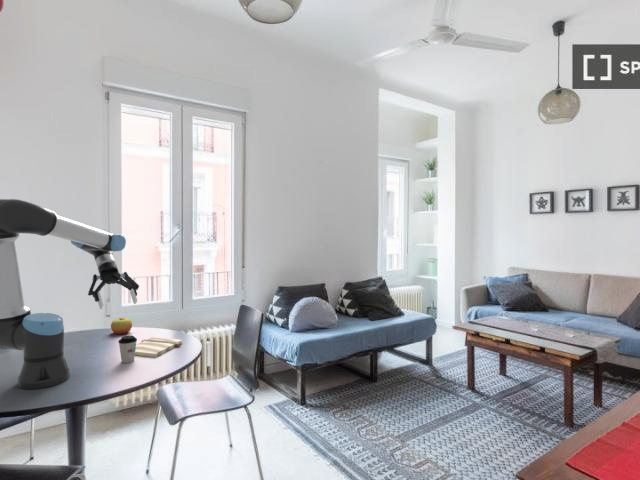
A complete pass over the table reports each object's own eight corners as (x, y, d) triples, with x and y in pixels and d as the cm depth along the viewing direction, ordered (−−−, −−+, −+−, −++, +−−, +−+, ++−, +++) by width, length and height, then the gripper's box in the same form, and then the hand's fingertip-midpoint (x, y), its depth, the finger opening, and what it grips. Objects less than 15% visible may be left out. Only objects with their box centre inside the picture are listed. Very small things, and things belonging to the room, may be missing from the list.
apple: (106, 334, 194) (106, 318, 194) (121, 329, 204) (121, 314, 203) (121, 336, 191) (121, 320, 191) (136, 331, 200) (136, 316, 200)
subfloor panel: (159, 357, 163) (159, 353, 162) (120, 353, 167) (120, 349, 166) (185, 343, 182) (185, 339, 182) (149, 340, 186) (149, 336, 186)
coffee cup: (114, 363, 155) (114, 338, 155) (127, 357, 162) (127, 334, 162) (128, 365, 153) (128, 340, 153) (141, 359, 160) (141, 335, 160)
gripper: (133, 269, 185) (146, 305, 176) (73, 274, 167) (84, 314, 158) (137, 259, 181) (151, 295, 172) (76, 263, 163) (88, 303, 154)
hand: (119, 304), depth 165 cm, fingers open, 13 cm apart
